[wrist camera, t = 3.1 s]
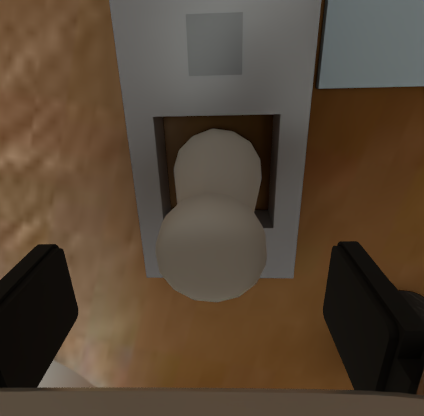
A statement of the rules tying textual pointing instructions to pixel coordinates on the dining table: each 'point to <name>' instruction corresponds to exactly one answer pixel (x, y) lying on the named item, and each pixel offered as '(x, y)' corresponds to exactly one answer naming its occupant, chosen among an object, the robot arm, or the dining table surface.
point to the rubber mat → (372, 44)
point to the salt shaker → (213, 219)
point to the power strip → (218, 96)
